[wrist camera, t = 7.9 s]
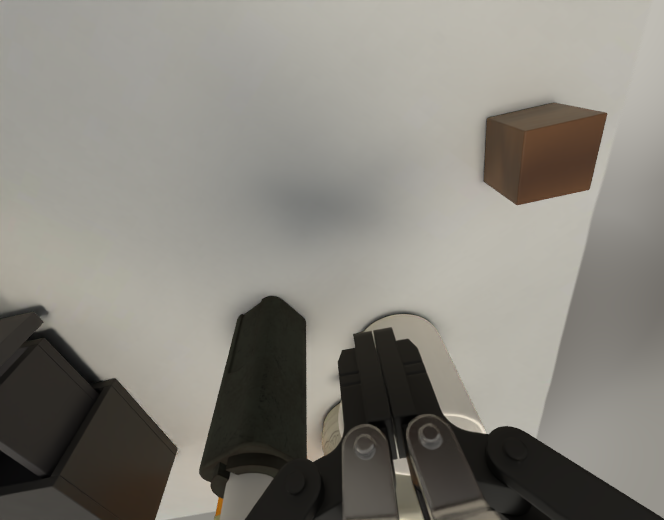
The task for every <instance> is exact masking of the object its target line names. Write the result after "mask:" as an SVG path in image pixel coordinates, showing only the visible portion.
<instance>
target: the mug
mask: <svg viewBox="0 0 664 520" xmlns="http://www.w3.org/2000/svg"><path fill="white" fill-rule="evenodd" d="M389 327H392V329H393V332H394V336H395V339H396V341H397V340H403V339H409V340H410V341H411V342H412V343H413V344H414V345H415V346H416V347H417V348H418V350H419V353H420V355H421V358H422V361H423V363H424V366H425V369H426V372H427V374H428V377H429V379H430V382H431V385H432V387H433V390H434V393H435V395H436V398H437V401H438V403H439V406H440V409H441V411H442V413H443V414H444V416H445V417H446V418H447V419H448V420H449V421H450V422H451V423H452V424H454V425H455V426H457V427H459V428H461V429H463V430H467V431H472V432H478V433H484V434H486V431H485V428H484V426H483V424H482V422H481V420H480V418H479V416H478V414H477V411H476V409H475V407H474V405H473V403H472V401H471V399H470V397H469V395H468V393H467V391H466V389H465V386H464V384H463V382H462V380H461V378H460V376H459V374H458V372H457V370H456V368H455V366H454V364H453V361H452V359H451V357H450V355H449V353H448V351H447V349H446V347H445V345H444V343H443V341H442V339H441V337H440V335H439V333H438V331H437V330H436V328H435V327H434V326H433V325H432V324H431V323H430V322H429V321H427V320H426V319H424V318H422V317H419V316H416V315H410V314H397V315H391V316H388V317H384V318H382V319H380V320H378V321H376V322H374V323H373V324H371V325H370V326H369V327H368V328H367V329H366V330H365V331H364V332H367V331H372V334H373V330H378V329H383V328H389ZM373 339H374V334H373ZM374 343H375V340H374ZM338 424H339V431H340V434H341V438H342V436H343V432H344V421H343V411H342V400H341V403H340V406H339V413H338ZM394 437H395V436H394ZM395 444H396V440H395ZM396 451H397V458H398V459H396V460H393V462H394V469H395V473H396V474H400V475H410V471H409V467H408V463H407V459H406V458H401V459H400V458H399V453H398V449H397V445H396Z"/></svg>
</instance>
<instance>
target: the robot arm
mask: <svg viewBox="0 0 664 520" xmlns="http://www.w3.org/2000/svg"><path fill="white" fill-rule="evenodd" d="M373 334H374V339H373ZM373 334H372V331H367V332H361V333H356V334H353V336H354V342H355V348H352V349H346V350H342V352H341V355H340V358H339V360H338V369H339V379H340V390H341V400H342V411H343V421H344V432H343V436H342V439H341V441H340V442H339V444H338V445H337V447H336V448H335V449H334V450H333V451H332V452H330V453H329V454H327V455H325V456H323V457H322V458H320V459H318V460H316V461H314V462H312V461H310V460H308V459H304V458H298V459H294V460H291V461H289V462H288V463H286V464H285V465H284V466H283V467H282V468H281V469H280V470H279V471H278V473H277V474H276V476H275V477H274V479H273V480H272V481H271V483H270V484H269V486H268V487H267V488H266V490H265V491H264V493H263V494H262V496H261V497H260V498H259V500H258V501H257V503H256V504H255V505H254V507H253V508H252V510H251V511H250V513H249V514H248V515H247V517H246V518H245V520H400V518H399V510H398V503H397V495H396V485H397V482H396V475H395V469H394V462H393V460H396V459H398V458H397V451H396V445H397V449H398V453H399V458H400V459H401V458H406V459H407V463H408V467H409V471H410V476H411V483H412V487H413V490H414V494H415V497H416V500H417V503H418V506H419V510H420V513H421V516H422V519H423V520H664V519H663V518H662V517H660V516H659V515H657V514H655V513H654V512H652V511H651V510H649V509H647V508H646V507H644V506H643V505H641V504H639V503H638V502H636V501H635V500H633V499H631V498H630V497H628V496H627V495H625V494H624V493H622V492H620V491H619V490H617V489H615V488H614V487H612V486H610V485H609V484H608V483H606V482H604V481H603V480H601V479H599V478H598V477H596V476H595V475H593V474H592V473H590V472H588V471H587V470H585V469H583V468H582V467H580V466H579V465H577V464H575V463H574V462H572V461H571V460H569V459H568V458H566V457H564V456H563V455H561V454H560V453H558V452H556V451H555V450H553V449H551V448H550V447H548V446H547V445H545V444H544V443H542V442H540V441H538V440H537V439H536V438H534V437H532V436H531V435H529V434H528V433H526V432H524V431H522V430H520V429H518V428H514V427H508V426H504V427H498V428H496V429H494V430H493V431H492V432H491V433H490V434H484V433H478V432H472V431H467V430H463V429H461V428H459V427H457V426H455V425H454V424H452V423H451V422H450V421H449V420H448V419H447V418H446V417H445V416H444V414H443V413H442V411H441V409H440V406H439V403H438V401H437V398H436V395H435V393H434V390H433V387H432V385H431V382H430V379H429V377H428V374H427V372H426V369H425V366H424V363H423V361H422V358H421V355H420V353H419V350H418V348H417V347H416V346H415V345H414V344H413V343H412V342H411V341H410V340H409V339H403V340H397V341H396V339H395V336H394V332H393V329H392V327H389V328H383V329H378V330H373ZM374 340H375V343H374ZM394 436H395V437H394ZM395 440H396V444H395Z"/></svg>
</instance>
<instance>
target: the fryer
mask: <svg viewBox="0 0 664 520" xmlns="http://www.w3.org/2000/svg"><path fill="white" fill-rule="evenodd" d="M90 386H91V387H92V388H93V389H94V390H95V391H96V392H97V393H98V394H99V397H98V398H97V400H96V402H95V403H94V405H93V407H92V408H91V410H90V411H89V413H88V415H87V416H86V418H85V420H84V421H83V423H82V425H81V426H80V428H79V430H78V431H77V433H76V435H75V436H74V438H73V440H72V441H71V443H70V445H69V446H68V448H67V450H66V451H65V453H64V455H63V456H62V458H61V460H60V461H59V463H58V465H57V466H56V468H55V470H54V471H53V473H52V475H51V477H49V478H44V479H39V480H33V481H28V482H23V483H17V484H12V485H7V486H1V487H0V520H155V518H156V515H157V512H158V509H159V506H160V502H161V499H162V496H163V493H164V490H165V487H166V484H167V481H168V477H169V474H170V471H171V468H172V465H173V462H174V459H175V455H176V452H177V448H176V447H175V446H174V445H173V443H172V442H171V441H170V440H169V439H168V438H167V437H166V436H165V434H164V433H163V432H162V431H161V430H160V429H159V428H158V426H157V425H156V424H155V423H154V422H153V421H152V420H151V419H150V417H149V416H148V415H147V414H146V413H145V412H144V411H143V410H142V408H141V407H140V406H139V405H138V404H137V403H136V402H135V400H134V399H133V398H132V397H131V396H130V395H129V394H128V393H127V391H126V390H125V389H124V388H123V387H122V386H121V385H120V383H119V382H118V381H117V380H116V379H113V380H108V381H103V382H98V383H93V384H90Z"/></svg>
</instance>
